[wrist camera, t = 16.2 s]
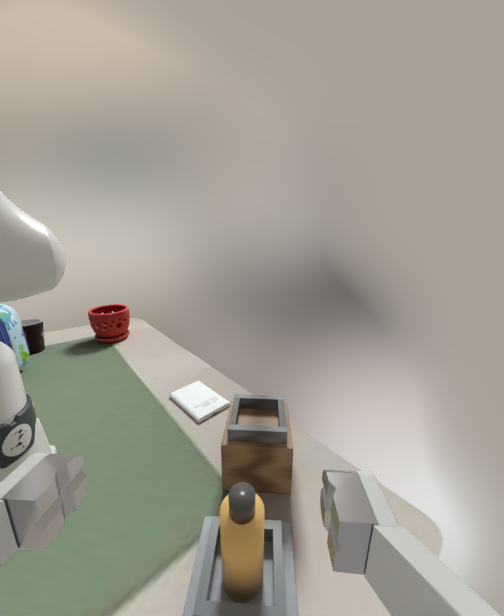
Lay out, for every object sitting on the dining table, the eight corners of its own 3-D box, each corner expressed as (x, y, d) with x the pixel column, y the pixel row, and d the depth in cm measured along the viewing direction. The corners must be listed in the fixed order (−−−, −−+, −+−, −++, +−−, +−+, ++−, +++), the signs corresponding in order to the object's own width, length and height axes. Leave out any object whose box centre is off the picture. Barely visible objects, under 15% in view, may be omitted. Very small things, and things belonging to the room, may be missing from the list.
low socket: (175, 657, 22) (172, 635, 21) (205, 522, 33) (204, 504, 32) (301, 669, 21) (303, 647, 21) (289, 527, 32) (290, 510, 31)
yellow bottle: (218, 600, 25) (214, 517, 22) (225, 548, 29) (223, 472, 26) (262, 604, 24) (264, 520, 22) (263, 550, 29) (265, 475, 26)
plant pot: (86, 340, 93) (80, 309, 90) (120, 330, 104) (116, 302, 101) (104, 348, 86) (98, 315, 83) (139, 336, 97) (135, 307, 94)
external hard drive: (199, 385, 65) (230, 407, 56) (170, 399, 59) (198, 425, 51) (199, 380, 64) (229, 401, 56) (169, 393, 59) (198, 418, 50)
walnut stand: (222, 490, 37) (220, 433, 34) (231, 438, 47) (230, 391, 44) (290, 493, 36) (293, 436, 34) (285, 441, 46) (287, 393, 43)
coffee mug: (26, 346, 87) (19, 319, 85) (54, 345, 89) (48, 318, 86) (0, 362, 76) (-8, 331, 74) (33, 359, 78) (25, 329, 75)
